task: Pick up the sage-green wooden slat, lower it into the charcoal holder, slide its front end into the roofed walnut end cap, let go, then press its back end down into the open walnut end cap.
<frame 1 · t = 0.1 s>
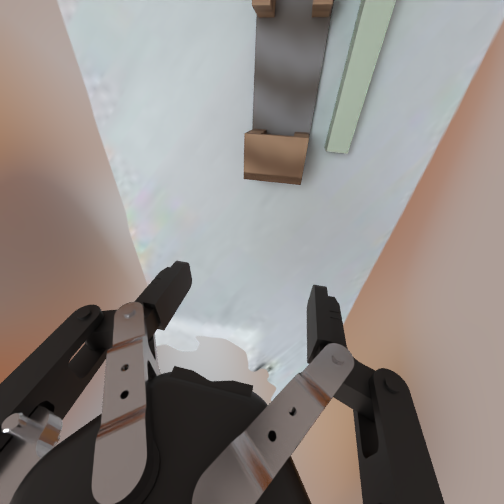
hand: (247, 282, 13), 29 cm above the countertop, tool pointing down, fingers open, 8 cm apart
holder: (286, 81, 30), on the countertop
slat: (356, 64, 27), on the countertop
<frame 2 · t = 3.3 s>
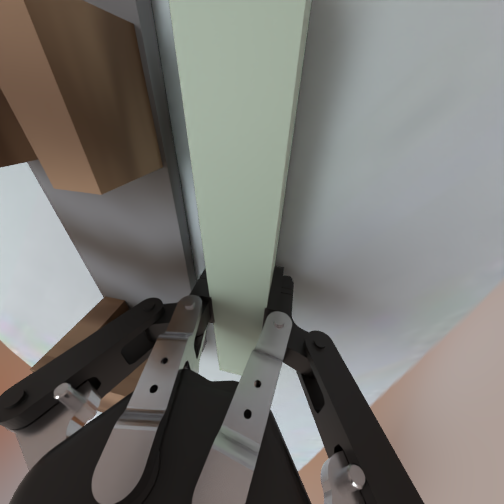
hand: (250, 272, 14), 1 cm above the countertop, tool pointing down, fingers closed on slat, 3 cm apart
holder: (135, 242, 15), on the countertop
slat: (254, 238, 13), on the countertop, touching gripper
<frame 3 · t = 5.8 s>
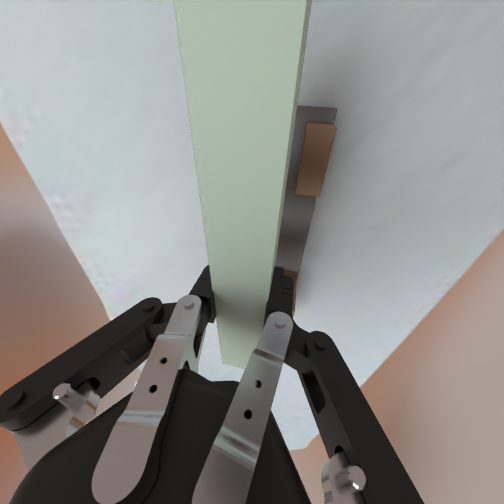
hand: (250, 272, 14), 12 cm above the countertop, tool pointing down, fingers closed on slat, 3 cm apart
holder: (270, 224, 25), on the countertop
slat: (255, 236, 13), point 12 cm above the countertop, touching gripper
when the fingers open (2 cm above the countertop, at t = 8.6 s): slat stays where it is, resting on holder.
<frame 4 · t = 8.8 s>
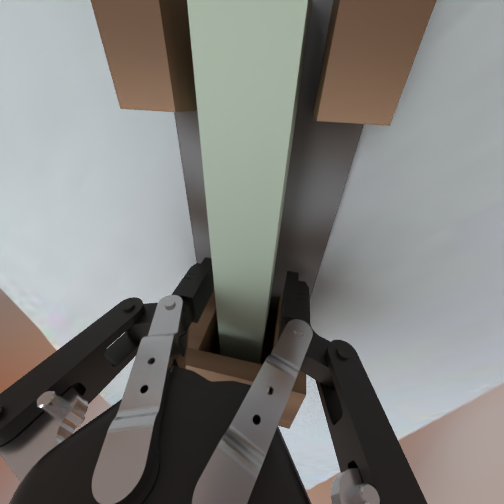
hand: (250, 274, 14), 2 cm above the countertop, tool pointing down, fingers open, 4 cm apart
holder: (259, 218, 14), on the countertop
slat: (256, 234, 13), point 1 cm above the countertop, touching holder
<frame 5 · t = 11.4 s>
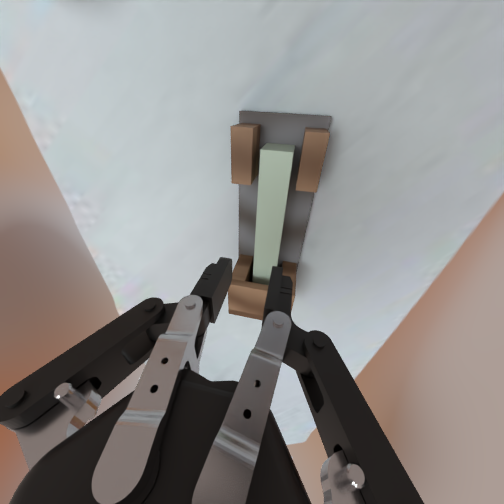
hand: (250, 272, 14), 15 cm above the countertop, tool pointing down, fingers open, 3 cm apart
holder: (272, 219, 28), on the countertop
slat: (271, 227, 28), point 1 cm above the countertop, touching holder
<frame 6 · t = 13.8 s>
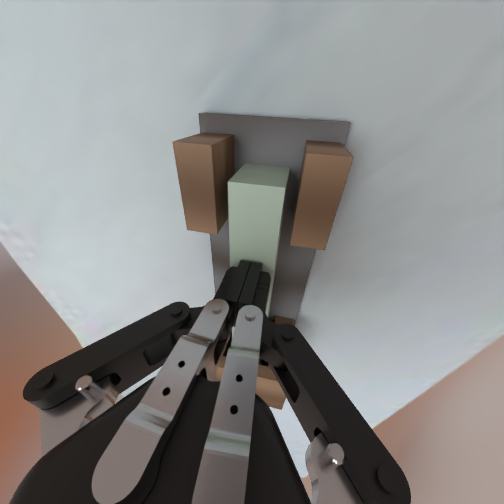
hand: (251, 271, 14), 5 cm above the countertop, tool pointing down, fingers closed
holder: (260, 264, 20), on the countertop
slat: (258, 276, 20), point 1 cm above the countertop, touching gripper, holder
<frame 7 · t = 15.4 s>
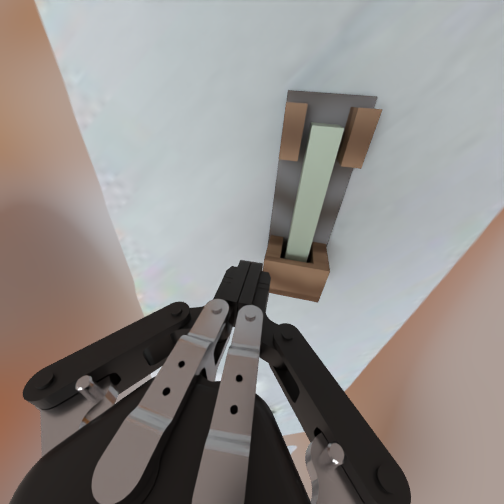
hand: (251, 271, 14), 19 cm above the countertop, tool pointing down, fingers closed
holder: (306, 200, 29), on the countertop
slat: (305, 207, 29), point 1 cm above the countertop, touching holder
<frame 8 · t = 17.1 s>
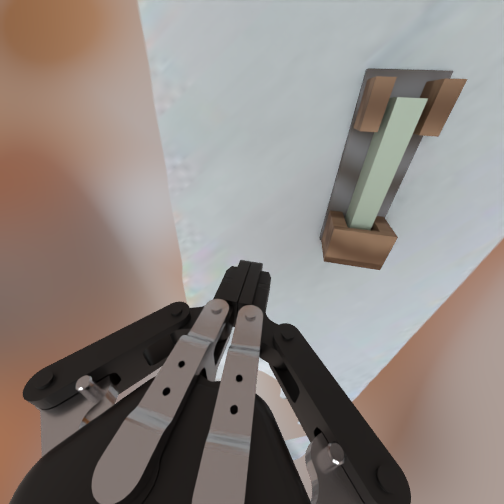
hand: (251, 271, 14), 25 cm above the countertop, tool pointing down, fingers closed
holder: (368, 174, 32), on the countertop
slat: (368, 181, 31), point 1 cm above the countertop, touching holder
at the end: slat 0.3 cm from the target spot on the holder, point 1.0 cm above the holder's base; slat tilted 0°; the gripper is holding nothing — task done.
